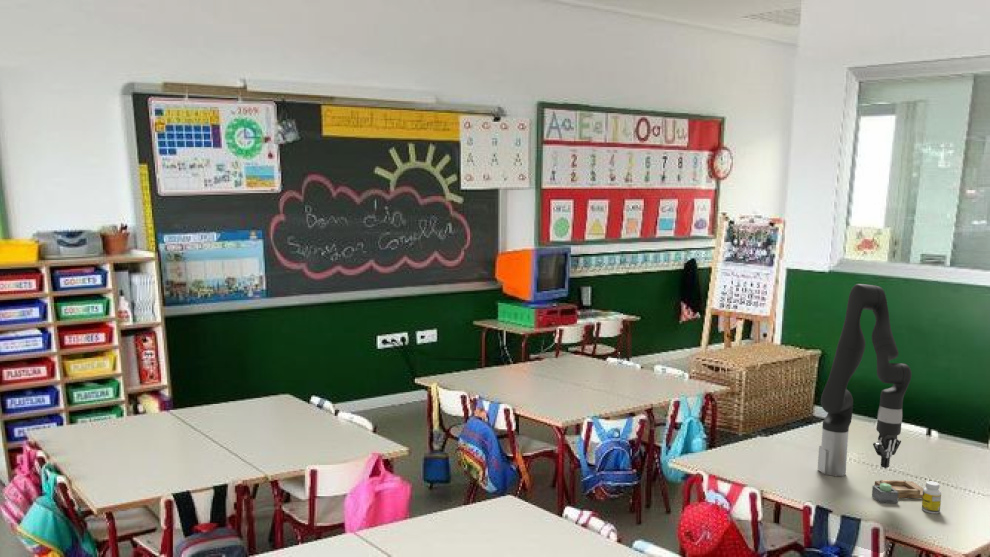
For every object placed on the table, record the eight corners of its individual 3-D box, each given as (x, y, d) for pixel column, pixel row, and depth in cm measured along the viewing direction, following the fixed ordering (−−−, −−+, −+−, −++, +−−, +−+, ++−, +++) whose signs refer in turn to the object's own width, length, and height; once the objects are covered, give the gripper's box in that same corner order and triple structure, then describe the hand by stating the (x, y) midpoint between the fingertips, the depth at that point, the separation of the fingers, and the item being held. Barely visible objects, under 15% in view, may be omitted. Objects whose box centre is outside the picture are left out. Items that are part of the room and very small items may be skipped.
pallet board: (893, 498, 264) (894, 490, 263) (874, 484, 276) (875, 476, 276) (932, 499, 264) (933, 490, 263) (912, 485, 277) (912, 477, 276)
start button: (882, 495, 260) (883, 486, 260) (877, 491, 264) (877, 483, 263) (892, 495, 260) (893, 486, 260) (887, 491, 264) (888, 483, 263)
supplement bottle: (918, 507, 256) (920, 479, 255) (934, 507, 256) (936, 480, 255) (926, 513, 250) (929, 485, 250) (943, 514, 250) (945, 486, 249)
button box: (880, 503, 259) (881, 492, 259) (871, 496, 265) (872, 485, 265) (897, 503, 259) (898, 492, 259) (888, 496, 265) (889, 485, 265)
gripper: (888, 424, 252) (883, 473, 254) (911, 420, 259) (906, 468, 261) (867, 418, 259) (863, 466, 261) (890, 414, 265) (886, 460, 267)
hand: (884, 467), depth 261 cm, fingers closed
